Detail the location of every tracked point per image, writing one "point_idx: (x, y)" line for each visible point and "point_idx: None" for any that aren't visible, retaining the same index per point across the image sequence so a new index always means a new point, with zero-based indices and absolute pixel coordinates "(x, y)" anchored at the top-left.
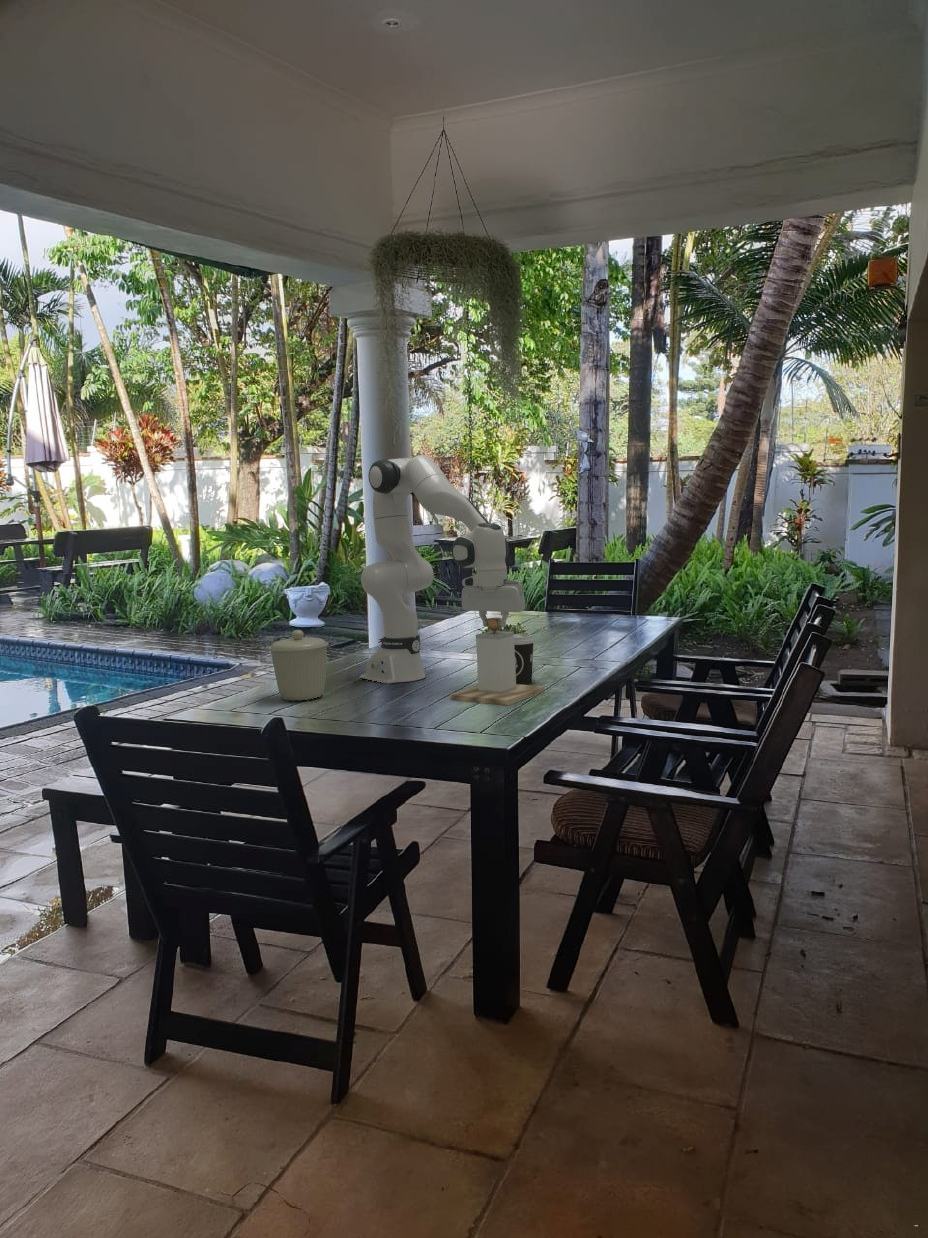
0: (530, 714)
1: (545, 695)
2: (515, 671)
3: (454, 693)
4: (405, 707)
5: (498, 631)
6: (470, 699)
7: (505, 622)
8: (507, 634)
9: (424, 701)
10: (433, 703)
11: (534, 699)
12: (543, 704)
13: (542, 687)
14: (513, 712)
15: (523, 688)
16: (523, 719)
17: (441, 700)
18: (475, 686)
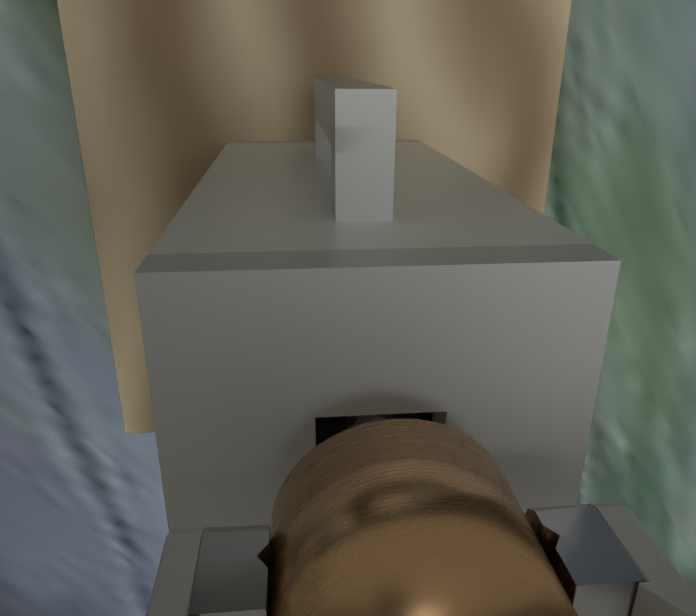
0: (678, 487)
1: (608, 102)
2: (448, 158)
3: (124, 399)
4: (49, 610)
5: (325, 294)
6: None
7: (658, 554)
8: (584, 423)
9: (27, 493)
10: (110, 506)
11: (583, 226)
12: (674, 310)
13: (568, 12)
14: (591, 489)
15: (458, 107)
16: (678, 556)
17: (95, 443)
18: (94, 177)
